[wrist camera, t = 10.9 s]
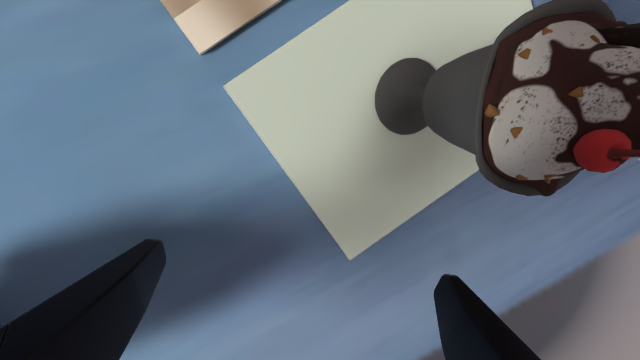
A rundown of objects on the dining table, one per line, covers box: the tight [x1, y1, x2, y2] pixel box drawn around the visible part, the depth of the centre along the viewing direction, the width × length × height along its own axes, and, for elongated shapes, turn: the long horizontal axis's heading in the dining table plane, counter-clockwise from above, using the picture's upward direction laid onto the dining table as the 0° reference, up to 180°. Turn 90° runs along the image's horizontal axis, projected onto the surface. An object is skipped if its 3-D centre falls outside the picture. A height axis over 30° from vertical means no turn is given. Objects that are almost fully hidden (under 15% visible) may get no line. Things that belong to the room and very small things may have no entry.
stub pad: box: [223, 0, 533, 260], centre depth 20 cm, size 20×15×1 cm
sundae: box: [375, 0, 640, 196], centre depth 12 cm, size 7×7×15 cm
